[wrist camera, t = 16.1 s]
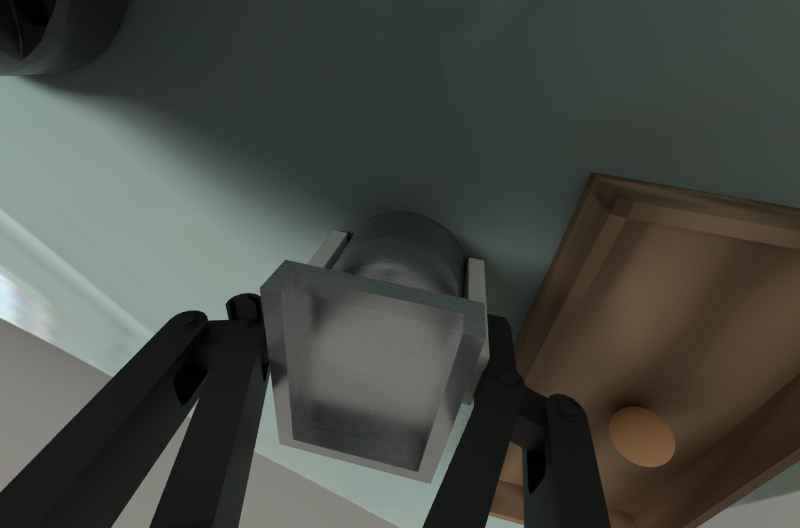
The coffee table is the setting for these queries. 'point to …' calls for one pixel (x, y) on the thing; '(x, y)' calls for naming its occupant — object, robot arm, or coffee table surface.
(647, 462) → the ball
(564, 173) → the coffee table surface
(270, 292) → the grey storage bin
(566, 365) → the tray
